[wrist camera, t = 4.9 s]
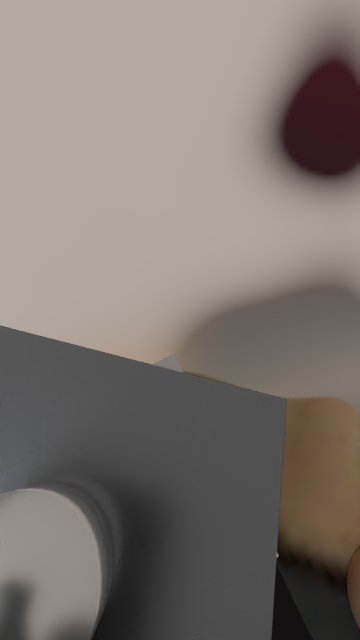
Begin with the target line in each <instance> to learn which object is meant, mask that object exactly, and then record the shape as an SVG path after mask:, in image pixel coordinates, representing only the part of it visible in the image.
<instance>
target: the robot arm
mask: <svg viewBox="0 0 360 640" xmlns="http://www.w3.org/2000/svg"><path fill="white" fill-rule="evenodd" d="M271 640H314V639H313V637H312V635H311V633H310V631H309V628H308V626H307V624H306V622H305V620H304V618H303V616H302V614H301V612H300V610H299V608H298V606H297V604H296V602H295V599H294V597H293V595H292V593H291V591H290V589H289V587H288V585H287V583H286V581H285V579H284V577H283V575H282V572H281V570H280V568H279V566H278V564H277V562H276V573H275V589H274V604H273V620H272V635H271Z"/></svg>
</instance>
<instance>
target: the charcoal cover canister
mask: <svg viewBox="0 0 360 640" xmlns="http://www.w3.org/2000/svg"><path fill="white" fill-rule="evenodd" d="M286 404H287V399H284V398H280V397H276V396H272V395H268V394H264V393H260V392H257V391H253V390H249V389H245V388H241V387H237V386H233V385H229V384H225V383H222V382H218V381H214V380H210V379H206V378H202V377H198V376H194V375H190V374H187V373H183V372H179V371H175V370H171V369H167V368H163V367H159V366H155V365H151V364H148V363H144V362H139V361H136V360H132V359H128V358H124V357H120V356H116V355H112V354H109V353H105V352H101V351H97V350H93V349H89V348H85V347H81V346H78V345H74V344H70V343H66V342H62V341H58V340H54V339H50V338H46V337H42V336H39V335H35V334H31V333H27V332H23V331H19V330H15V329H11V328H7V327H4V326H0V640H271V635H272V620H273V604H274V589H275V573H276V558H277V543H278V527H279V512H280V496H281V481H282V465H283V450H284V434H285V419H286Z"/></svg>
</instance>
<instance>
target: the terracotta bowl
mask: <svg viewBox="0 0 360 640" xmlns="http://www.w3.org/2000/svg"><path fill="white" fill-rule="evenodd" d="M347 592H348V599H349V603H350V607H351V611H352V614H353V616H354V619H355V621H356V624H357V625H358V627H359V629H360V547H359V548H358V549H357V550H356V552H355V553H354V555H353V557H352V559H351V561H350V564H349V568H348V573H347Z"/></svg>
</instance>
